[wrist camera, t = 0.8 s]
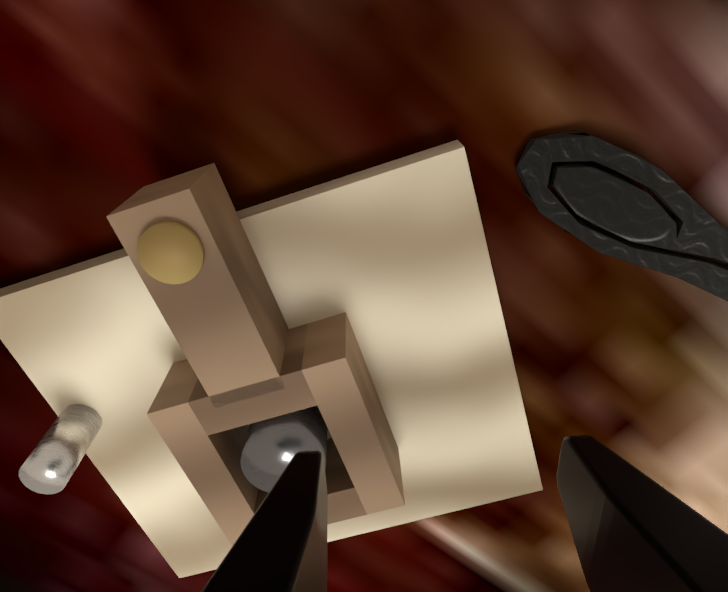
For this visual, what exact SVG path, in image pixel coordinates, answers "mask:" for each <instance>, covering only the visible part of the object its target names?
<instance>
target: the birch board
mask: <svg viewBox="0 0 728 592" xmlns="http://www.w3.org/2000/svg"><path fill="white" fill-rule="evenodd" d="M237 215H238V217H239V219H240V221H241V224H242V226H243V228H244V230H245V233H246V235H247V237H248V239H249V241H250V244H251V246H252V248H253V250H254V253H255V255H256V257H257V259H258V261H259V264H260V266H261V268H262V270H263V273H264V275H265V277H266V279H267V282H268V284H269V286H270V288H271V290H272V293H273V295H274V297H275V299H276V302H277V304H278V306H279V308H280V311H281V313H282V315H283V317H284V319H285V322H286V324H287V326H288V328H289V329H291V328H294V327H297V326H301V325H304V324H308V323H311V322H314V321H318V320H321V319H325V318H328V317H331V316H335V315H338V314H342V313H345V312H346V314H347V316H348V319H349V321H350V324H351V327H352V329H353V332H354V334H355V337H356V340H357V342H358V345H359V347H360V350H361V353H362V355H363V358H364V360H365V363H366V366H367V368H368V371H369V373H370V376H371V379H372V381H373V384H374V386H375V389H376V392H377V394H378V397H379V399H380V402H381V405H382V407H383V410H384V412H385V415H386V418H387V420H388V423H389V425H390V428H391V431H392V433H393V436H394V438H395V441H396V444H397V446H398V449H399V458H400V466H401V475H402V483H403V491H404V500H405V505H404V506H400V507H396V508H392V509H388V510H384V511H380V512H376V513H372V514H368V515H364V516H360V517H356V518H352V519H348V520H344V521H340V522H336V523H331V524H327V542H330V541H334V540H338V539H343V538H347V537H351V536H355V535H359V534H363V533H367V532H371V531H375V530H380V529H384V528H388V527H392V526H396V525H400V524H404V523H408V522H413V521H417V520H421V519H425V518H429V517H433V516H437V515H441V514H445V513H450V512H454V511H458V510H462V509H466V508H470V507H474V506H478V505H483V504H487V503H491V502H495V501H499V500H503V499H507V498H511V497H515V496H520V495H524V494H528V493H532V492H536V491H540V490H543V488H542V484H541V480H540V475H539V471H538V467H537V462H536V458H535V454H534V449H533V445H532V440H531V436H530V432H529V427H528V423H527V419H526V414H525V410H524V405H523V401H522V397H521V392H520V388H519V384H518V379H517V375H516V371H515V366H514V362H513V357H512V353H511V349H510V344H509V340H508V336H507V331H506V327H505V322H504V318H503V314H502V309H501V305H500V301H499V296H498V292H497V288H496V283H495V279H494V274H493V270H492V266H491V261H490V257H489V253H488V248H487V244H486V239H485V235H484V231H483V226H482V222H481V218H480V213H479V209H478V205H477V200H476V196H475V191H474V187H473V183H472V178H471V174H470V170H469V165H468V161H467V156H466V152H465V148H464V146H463V145H462V144H461V143H460V142H459V141H458V140H455V141H452V142H449V143H445V144H442V145H439V146H436V147H433V148H430V149H427V150H424V151H421V152H418V153H415V154H412V155H409V156H406V157H403V158H399V159H396V160H393V161H390V162H387V163H384V164H381V165H378V166H375V167H372V168H369V169H366V170H363V171H360V172H357V173H353V174H350V175H347V176H344V177H341V178H338V179H335V180H332V181H329V182H326V183H323V184H320V185H317V186H314V187H311V188H307V189H304V190H301V191H298V192H295V193H292V194H289V195H286V196H283V197H280V198H277V199H274V200H271V201H268V202H264V203H261V204H258V205H255V206H252V207H249V208H246V209H243V210H240V211H237ZM0 339H1V340H2V342H3V343H4V345H5V346H6V347H7V349H8V350H9V351H10V353H11V354H12V355H13V357H14V358H15V359H16V361H17V362H18V363H19V365H20V366H21V367H22V369H23V370H24V371H25V373H26V374H27V375H28V377H29V378H30V379H31V381H32V382H33V383H34V385H35V386H36V387H37V389H38V390H39V391H40V393H41V394H42V395H43V397H44V398H45V399H46V401H47V402H48V403H49V405H50V406H51V407H52V409H53V410H54V411H55V413H56V414H57V415H58V416H59V415H60V414H61V412H62V411H63V410H64V409H65V408H66V407H67V406H69V405H72V404H83V405H87V406H89V407H91V408H93V409H94V410H96V411H97V412H98V413H99V415H100V416H101V418H102V427H101V429H100V430H99V432H98V434H97V435H96V437H95V439H94V440H93V442H92V443H91V445H90V447H89V448H88V450H87V452H86V454H87V455H88V457H89V458H90V459H91V461H92V462H93V463H94V465H95V466H96V467H97V469H98V470H99V471H100V473H101V474H102V475H103V477H104V478H105V479H106V481H107V482H108V483H109V485H110V486H111V488H112V489H113V490H114V492H115V493H116V494H117V496H118V497H119V498H120V500H121V501H122V502H123V504H124V505H125V506H126V508H127V509H128V510H129V512H130V513H131V514H132V516H133V517H134V518H135V520H136V521H137V522H138V524H139V525H140V526H141V528H142V529H143V530H144V532H145V533H146V534H147V536H148V537H149V538H150V540H151V541H152V542H153V544H154V545H155V546H156V548H157V549H158V550H159V552H160V553H161V554H162V556H163V557H164V558H165V560H166V561H167V562H168V564H169V565H170V566H171V568H172V569H173V570H174V572H175V573H176V574H177V576H178V577H179V578H182V577H186V576H190V575H194V574H198V573H203V572H207V571H211V570H215V569H217V568H218V567H219V565H220V564H221V562H222V561H223V559H224V558H225V556H226V555H227V553H228V552H229V550H230V549H231V547H232V545H231V544H230V542H229V540H228V539H227V537H226V536H225V534H224V533H223V531H222V530H221V528H220V527H219V525H218V523H217V522H216V520H215V519H214V517H213V516H212V514H211V513H210V511H209V510H208V508H207V507H206V505H205V503H204V502H203V500H202V499H201V497H200V496H199V494H198V493H197V491H196V490H195V488H194V486H193V485H192V483H191V482H190V480H189V479H188V477H187V476H186V474H185V473H184V471H183V470H182V468H181V466H180V465H179V463H178V462H177V460H176V459H175V457H174V456H173V454H172V453H171V451H170V449H169V448H168V446H167V445H166V443H165V442H164V440H163V439H162V437H161V436H160V434H159V433H158V431H157V429H156V428H155V426H154V425H153V423H152V422H151V420H150V419H149V417H148V416H147V412H148V410H149V409H150V407H151V405H152V403H153V401H154V399H155V397H156V395H157V393H158V391H159V389H160V387H161V385H162V383H163V381H164V380H165V378H166V376H167V374H168V372H169V370H170V368H171V366H172V364H173V363H175V362H179V361H182V360H185V359H187V358H186V356H185V354H184V353H183V351H182V349H181V347H180V345H179V344H178V342H177V340H176V338H175V337H174V335H173V333H172V331H171V330H170V328H169V326H168V324H167V323H166V321H165V319H164V317H163V316H162V314H161V312H160V310H159V309H158V307H157V305H156V303H155V302H154V300H153V298H152V296H151V295H150V293H149V291H148V289H147V287H146V286H145V284H144V282H143V280H142V279H141V277H140V275H139V273H138V272H137V270H136V268H135V266H134V265H133V263H132V261H131V259H130V258H129V256H128V254H127V252H126V251H125V249H124V248H123V249H120V250H117V251H114V252H111V253H108V254H105V255H102V256H99V257H96V258H93V259H90V260H87V261H83V262H80V263H77V264H74V265H71V266H68V267H65V268H62V269H59V270H56V271H53V272H50V273H47V274H44V275H41V276H37V277H34V278H31V279H28V280H25V281H22V282H19V283H16V284H13V285H10V286H7V287H4V288H1V289H0ZM248 426H249V424H248ZM329 438H332V436H331V434H330V432H329V430H328V433H327V439H329Z"/></svg>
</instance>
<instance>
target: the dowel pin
mask: <svg viewBox="0 0 728 592" xmlns="http://www.w3.org/2000/svg"><path fill="white" fill-rule="evenodd" d="M101 427H102V418H101V416H100V415H99V413H98V412H97V411H96V410H94V409H93V408H91V407H89V406H87V405H83V404H72V405H69V406H67V407H66V408H65V409H64V410H63V411H62V412H61V414H60V415H59V416H58V418H57V419H56V420H55V422H54V423H53V424H52V426H51V427H50V429H49V430H48V431H47V433H46V434H45V435H44V437H43V438H42V439H41V441H40V442H39V443H38V445H37V446H36V447H35V449H34V450H33V452H32V453H31V454H30V456H29V457H28V458H27V460H26V461H25V462H24V464H23V465H22V466H21V468H20V470H19V478H20V480H21V482H22V483H23V484H24V485H25V486H26V487H27V488H29V489H30V490H32V491H35V492H37V493H41V494H55V493H58V492H60V491H61V490H63V489H64V487H65V486H66V484H67V483H68V481H69V479H70V478H71V476H72V474H73V473H74V471H75V470H76V468H77V466H78V465H79V463H80V461H81V460H82V458H83V456H84V455H85V453H86V452H87V450H88V448H89V447H90V445H91V443H92V442H93V440H94V439H95V437H96V435H97V434H98V432H99V430H100V429H101Z"/></svg>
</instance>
